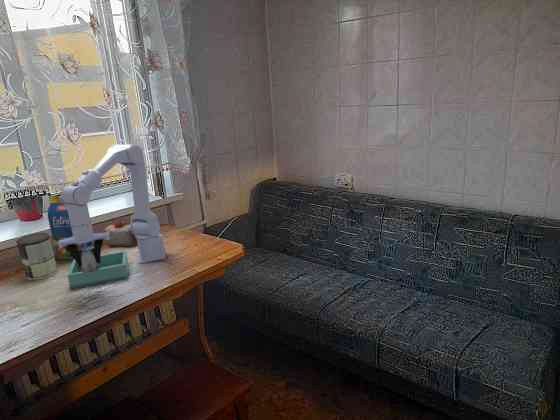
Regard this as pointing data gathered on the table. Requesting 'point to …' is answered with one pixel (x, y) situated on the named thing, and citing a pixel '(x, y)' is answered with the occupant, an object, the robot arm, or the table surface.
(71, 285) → the tote
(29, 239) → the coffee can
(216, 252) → the table surface
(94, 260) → the metal cylinder
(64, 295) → the table surface
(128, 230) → the food item
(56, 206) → the blue food package
